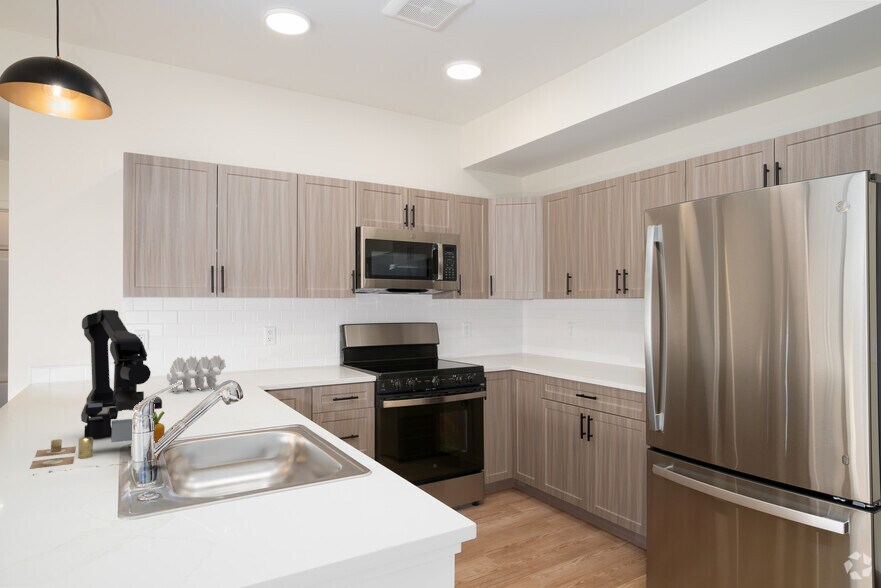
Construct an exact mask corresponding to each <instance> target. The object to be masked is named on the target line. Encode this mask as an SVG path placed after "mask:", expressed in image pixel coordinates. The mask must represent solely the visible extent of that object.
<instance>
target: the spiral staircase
mask: <svg viewBox="0 0 881 588" xmlns="http://www.w3.org/2000/svg"><path fill="white" fill-rule="evenodd" d="M225 368H226V363H225V359H224V358H223V359H222V357H221V356H220V354H218V355H213V357H212V358H209V356H208V355H205V356H201V358H199V359H198V358H197V356H192V355H190V356H189V357H188V358H186V360H185V359H184V357H183V356H182V357H178V356H177V357H176V359H174V361H173V362H172V364H171V367H170V368H169V369H170V370H169V371H170V372H168V373H166V380H167V382H169V386H170V385H172V384H175V383H177V382H179V381H181V383H182V382H183V384H182V387H183V389H184V390H185V389H186V390H188V391H191V390H192V389H191V386H192V384H193V383H192V379H193V381H194V386H195V387H196V389H197V388H200V389H202V390H203V389H204V388H205V382H206V384H207V387H208V388H209V387H210V388H209V389H211V388H213V389H214V388H216V387H217V385H216V383H217V382H218V379H217V376H220V375H221V373H222V370H224V369H225ZM205 379H206V381H205ZM178 387H179V385H178V386H176V387H174V388H172V389H171V388H170V390H172V391H171V392H173V391H174V392H175V391H176V392H178V391H179V390H178V389H179V388H178ZM186 390H185V391H186ZM174 392H173V393H174Z"/></svg>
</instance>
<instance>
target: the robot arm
mask: <svg viewBox="0 0 881 588" xmlns="http://www.w3.org/2000/svg"><path fill="white" fill-rule="evenodd" d="M119 316H120V315H119V311H118V310H116V309H100V310H97V312H94V313H89V314H86V315H85V316H84V317H83V318H82V320H81V328H82V330H83V336H84V337H85V338H86V339H87V341H89V343H90V355H91V356H90V359H91V360H90V361H91V363H90V364H91V382H92V384H91V386H92V387H91V391H89V394H88V395H87V397H86V403H85V404H84V407H83V408H82V411H81V414H80V417H81V422H83V423H85V424H86V425H84V434H83V435H84V436H83V437H93V440H101V439H106V438H111V436H112V429H111V427H112V420H118V414H119V412H122V411H134V410H133V408H134V406H135V405H136V404H138V403H139V402H141V401H142V400H145V399H146V398H147V397H145V391H137V387H138V386H137V385H143V384H145V383H146V382H147V381H148V380H149V379H150V378H151V374H152V373H151V370H150V368H149V366H148V365H146V364H145V363H144V362H147V360H148V359H147V357H148V354H147V351H146V349H145V345H144V343H143V341H142V340H141V338H140V337H139V336H138V335H137V334H135V333H132V332H130V331H128V329H127V327H126V325H125V324H124V323H123V320H121V318H120V317H119ZM109 340H110V341H111V342H110V344H109ZM109 352H110V355H111V357H112V359H113V364H114V369H113V370H114V372H113V373H114V374H113V389H112V387H111V383H110V380H111V379H110V361H109V360H110V358H109ZM155 397H156V398H155V400H154V404H155V409H154V410H160V409H163V400H162V398H161V397H159V396H155Z"/></svg>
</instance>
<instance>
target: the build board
mask: <svg viewBox="0 0 881 588" xmlns="http://www.w3.org/2000/svg"><path fill="white" fill-rule="evenodd" d="M74 462H75V456H74V455H73V456H65V457H57V458H49V459H38V460H37V459H36V460H32V462H31V464H30V467H29V470H34V469H42V468H49V467H50V468H52V467H58V466H65V465H66V466H68V465H73V464H74Z"/></svg>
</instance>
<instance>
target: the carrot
mask: <svg viewBox="0 0 881 588" xmlns="http://www.w3.org/2000/svg"><path fill="white" fill-rule="evenodd" d="M153 412H154V414H153V416H154V417H153V421H154V420H155V431H154V441H155V443H157V442H158V440H159V439H160V438H161V437H162V436H163V435H164V436H165V429H166V428H165V425H164V424H163V423H160V420H161V419H162V417H163V415H164V414H165V411H164V410H163V411H161V412H160V413H159V415H158V414H157V411H153ZM161 455H162V451H161V452H160V453H159V454H158V456H157V460H158V461H159V459H160V457H161Z"/></svg>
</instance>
